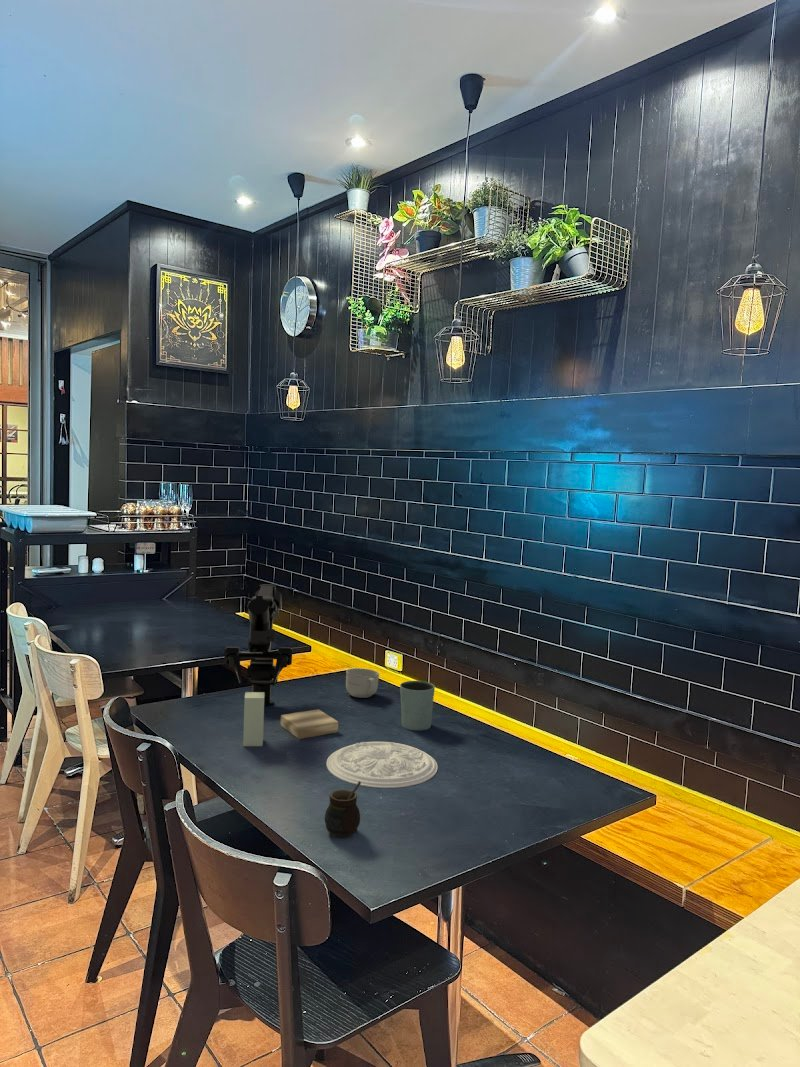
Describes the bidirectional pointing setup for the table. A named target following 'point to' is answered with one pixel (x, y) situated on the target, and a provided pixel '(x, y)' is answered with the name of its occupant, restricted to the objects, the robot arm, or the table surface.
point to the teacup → (361, 682)
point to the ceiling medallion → (382, 765)
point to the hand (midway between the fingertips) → (257, 682)
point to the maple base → (309, 723)
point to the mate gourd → (342, 813)
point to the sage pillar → (253, 719)
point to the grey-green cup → (416, 704)
